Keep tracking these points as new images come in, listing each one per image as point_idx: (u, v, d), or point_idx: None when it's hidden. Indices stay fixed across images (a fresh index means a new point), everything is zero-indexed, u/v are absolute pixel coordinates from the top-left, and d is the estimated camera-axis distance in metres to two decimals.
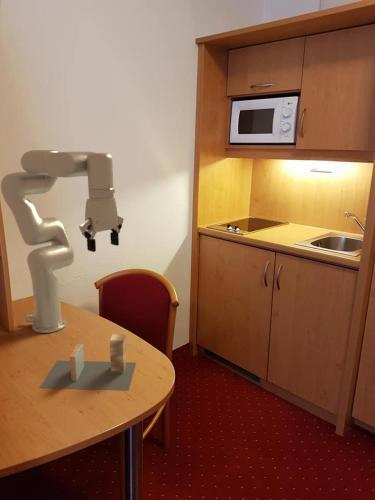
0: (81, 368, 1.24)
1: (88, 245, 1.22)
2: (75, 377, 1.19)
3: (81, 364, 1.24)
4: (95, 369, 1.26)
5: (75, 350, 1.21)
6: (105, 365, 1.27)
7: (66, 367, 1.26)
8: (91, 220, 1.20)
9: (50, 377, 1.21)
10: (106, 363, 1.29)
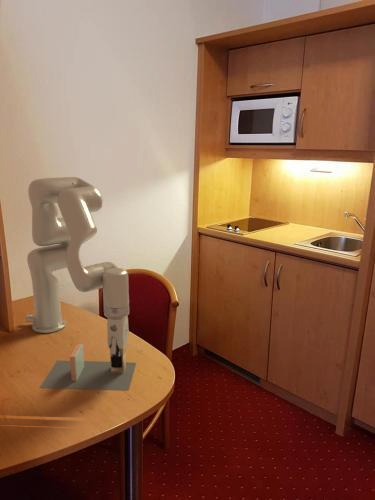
0: (81, 368, 1.24)
1: None
2: (75, 377, 1.19)
3: (81, 364, 1.24)
4: (95, 369, 1.26)
5: (75, 350, 1.21)
6: (105, 365, 1.27)
7: (66, 367, 1.26)
8: None
9: (50, 377, 1.21)
10: (106, 363, 1.29)
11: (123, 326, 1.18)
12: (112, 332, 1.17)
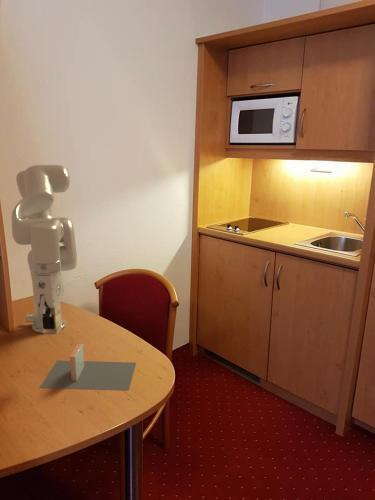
0: (81, 368, 1.24)
1: None
2: (75, 377, 1.19)
3: (81, 364, 1.24)
4: (95, 369, 1.26)
5: (75, 350, 1.21)
6: (105, 365, 1.27)
7: (66, 367, 1.26)
8: None
9: (50, 377, 1.21)
10: (106, 363, 1.29)
11: (53, 283, 1.12)
12: (40, 289, 1.11)
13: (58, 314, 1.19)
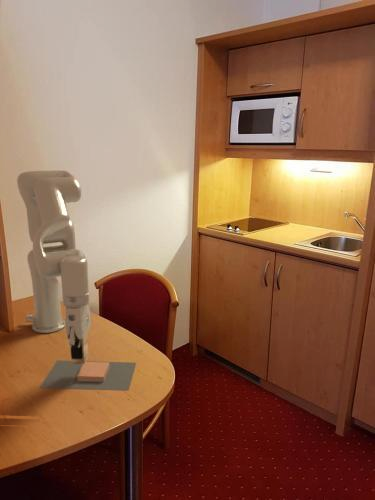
0: None
1: None
2: (80, 379, 1.19)
3: None
4: None
5: (106, 371, 1.22)
6: None
7: (66, 367, 1.26)
8: None
9: (50, 377, 1.21)
10: None
11: (82, 316, 1.14)
12: (70, 322, 1.13)
13: (86, 344, 1.21)
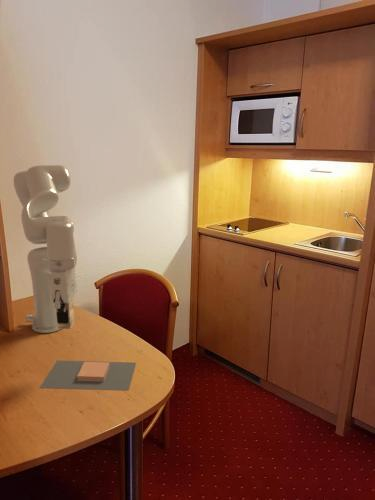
0: None
1: None
2: (80, 379, 1.19)
3: None
4: None
5: (106, 371, 1.22)
6: None
7: (66, 367, 1.26)
8: None
9: (50, 377, 1.21)
10: None
11: (67, 280, 1.16)
12: (56, 285, 1.15)
13: (72, 309, 1.23)
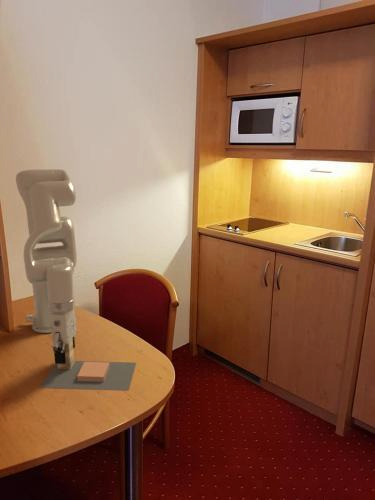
0: None
1: None
2: (80, 379, 1.19)
3: None
4: None
5: (106, 371, 1.22)
6: None
7: None
8: None
9: (50, 377, 1.21)
10: None
11: (67, 321, 1.19)
12: (56, 327, 1.18)
13: (71, 349, 1.26)
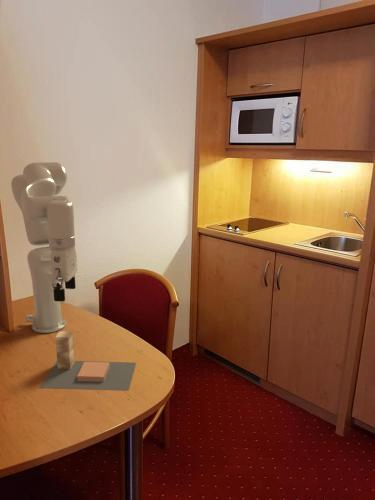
0: None
1: None
2: (80, 379, 1.19)
3: None
4: None
5: (106, 371, 1.22)
6: None
7: None
8: None
9: (50, 377, 1.21)
10: None
11: (67, 258, 1.17)
12: (55, 263, 1.16)
13: (71, 349, 1.26)
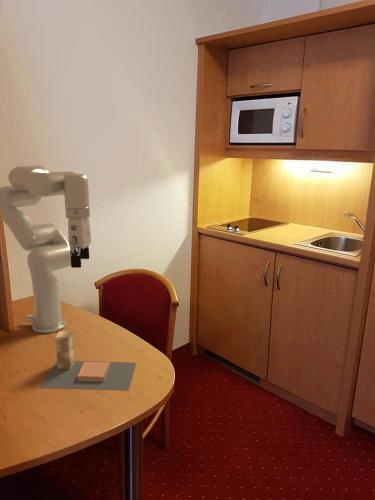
0: None
1: None
2: (80, 379, 1.19)
3: None
4: None
5: (106, 371, 1.22)
6: None
7: None
8: None
9: (50, 377, 1.21)
10: None
11: (83, 227, 1.27)
12: (72, 231, 1.26)
13: (71, 349, 1.26)
